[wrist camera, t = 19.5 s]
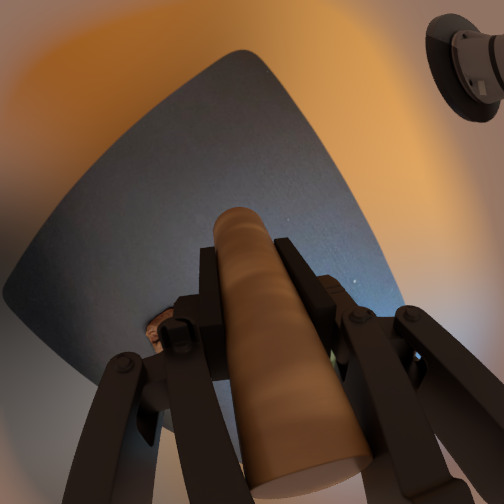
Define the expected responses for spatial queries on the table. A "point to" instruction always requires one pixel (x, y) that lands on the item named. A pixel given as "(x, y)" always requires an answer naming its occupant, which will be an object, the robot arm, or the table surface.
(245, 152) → the table surface
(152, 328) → the cookie
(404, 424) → the robot arm
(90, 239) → the table surface
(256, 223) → the stick
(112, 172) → the table surface
